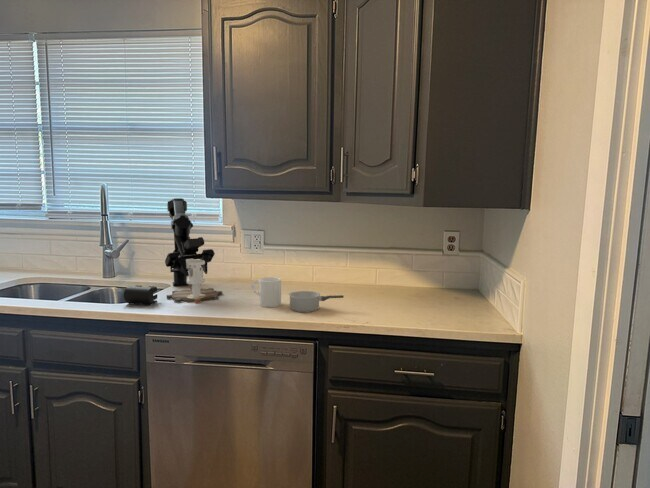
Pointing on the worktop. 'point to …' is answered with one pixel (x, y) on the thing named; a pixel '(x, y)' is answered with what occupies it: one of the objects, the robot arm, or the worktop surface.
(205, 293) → the sprocket plate
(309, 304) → the saucepan
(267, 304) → the mug
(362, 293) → the worktop surface
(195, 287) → the light grey tall piece
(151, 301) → the end cap
